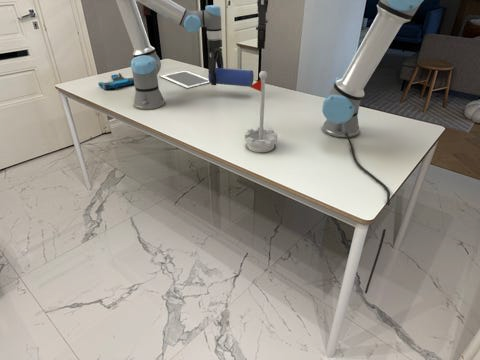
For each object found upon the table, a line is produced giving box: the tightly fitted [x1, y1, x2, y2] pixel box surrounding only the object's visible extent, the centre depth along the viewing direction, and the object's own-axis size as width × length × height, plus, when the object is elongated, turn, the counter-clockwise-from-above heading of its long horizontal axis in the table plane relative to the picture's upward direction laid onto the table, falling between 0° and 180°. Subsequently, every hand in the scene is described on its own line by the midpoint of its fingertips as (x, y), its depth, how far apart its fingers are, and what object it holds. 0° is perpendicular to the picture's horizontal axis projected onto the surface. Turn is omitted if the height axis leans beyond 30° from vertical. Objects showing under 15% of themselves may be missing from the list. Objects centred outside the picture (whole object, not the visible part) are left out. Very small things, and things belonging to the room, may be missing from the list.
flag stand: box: [244, 70, 278, 153], centre depth 129 cm, size 13×13×30 cm
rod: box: [207, 67, 255, 88], centre depth 183 cm, size 23×8×8 cm, turn 72°
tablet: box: [159, 70, 211, 89], centre depth 214 cm, size 32×20×1 cm, turn 41°
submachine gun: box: [97, 74, 134, 90], centre depth 209 cm, size 34×4×25 cm
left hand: (216, 82), depth 187 cm, fingers closed on rod, 8 cm apart
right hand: (261, 44), depth 132 cm, fingers open, 13 cm apart
